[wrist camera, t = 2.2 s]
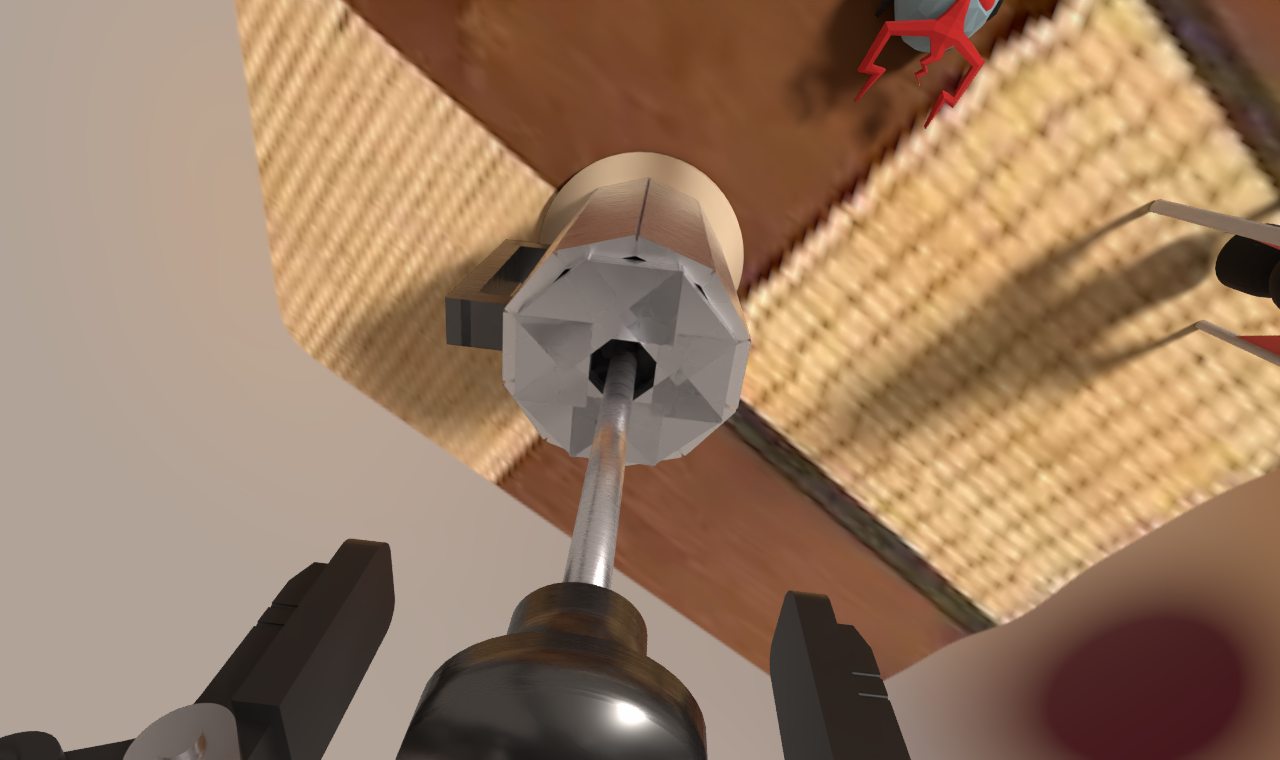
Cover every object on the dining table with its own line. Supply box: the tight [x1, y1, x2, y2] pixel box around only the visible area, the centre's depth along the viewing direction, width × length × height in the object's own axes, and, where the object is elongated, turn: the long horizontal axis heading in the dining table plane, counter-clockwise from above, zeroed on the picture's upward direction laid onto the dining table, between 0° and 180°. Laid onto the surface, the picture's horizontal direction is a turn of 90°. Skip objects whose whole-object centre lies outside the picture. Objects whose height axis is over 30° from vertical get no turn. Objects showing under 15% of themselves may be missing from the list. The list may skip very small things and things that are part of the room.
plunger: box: [396, 259, 708, 760], centre depth 17 cm, size 6×6×18 cm
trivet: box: [539, 151, 743, 291], centre depth 36 cm, size 12×12×1 cm
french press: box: [445, 177, 751, 466], centre depth 29 cm, size 12×10×15 cm
